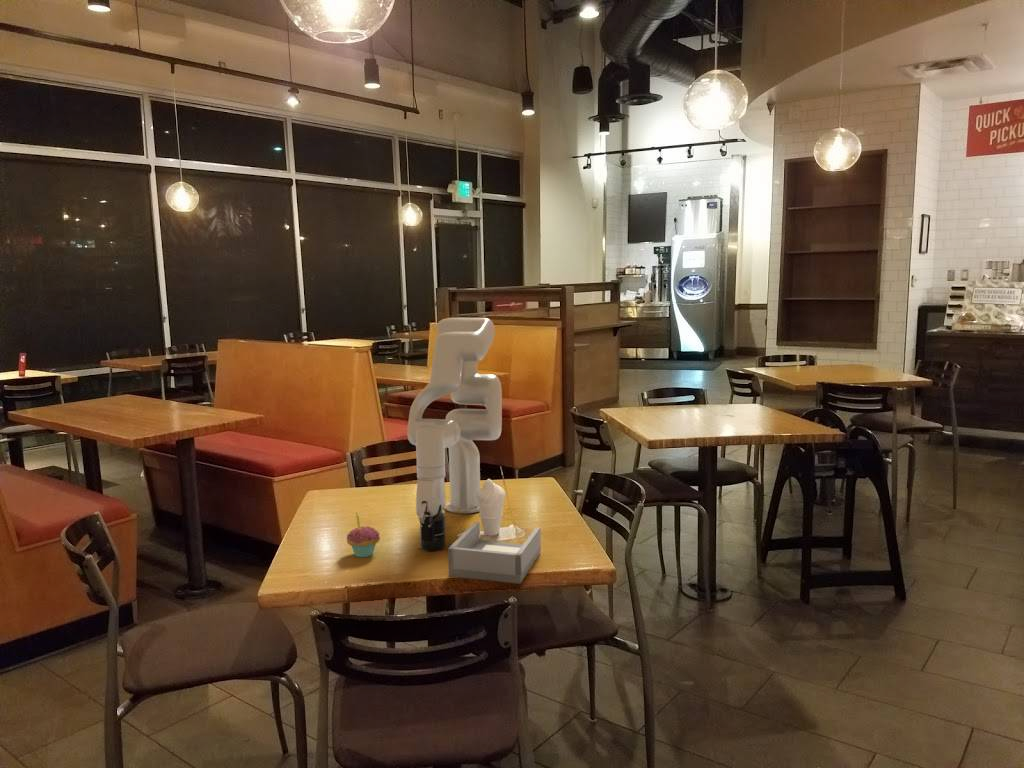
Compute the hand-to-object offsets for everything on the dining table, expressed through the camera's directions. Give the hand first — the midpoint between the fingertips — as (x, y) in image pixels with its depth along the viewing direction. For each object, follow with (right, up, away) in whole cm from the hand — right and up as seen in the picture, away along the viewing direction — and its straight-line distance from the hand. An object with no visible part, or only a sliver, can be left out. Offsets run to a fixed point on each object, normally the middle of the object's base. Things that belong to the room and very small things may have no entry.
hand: (433, 535), depth 194 cm
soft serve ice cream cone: (+15, -2, +11) cm, 19 cm away
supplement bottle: (0, -3, 0) cm, 4 cm away
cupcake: (-18, -4, -4) cm, 19 cm away
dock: (+17, -5, -12) cm, 21 cm away
